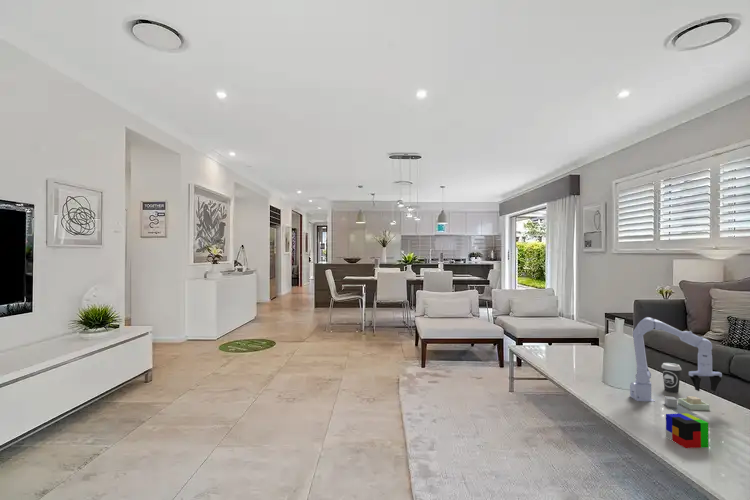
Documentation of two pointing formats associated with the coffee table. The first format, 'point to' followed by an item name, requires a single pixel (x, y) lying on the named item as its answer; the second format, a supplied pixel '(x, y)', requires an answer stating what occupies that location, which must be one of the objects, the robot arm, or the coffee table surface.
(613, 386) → the coffee table surface
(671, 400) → the matte grey cube
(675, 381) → the coffee cup
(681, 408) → the slate mat
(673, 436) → the puzzle toy
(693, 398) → the tan wooden cube
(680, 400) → the green bin
